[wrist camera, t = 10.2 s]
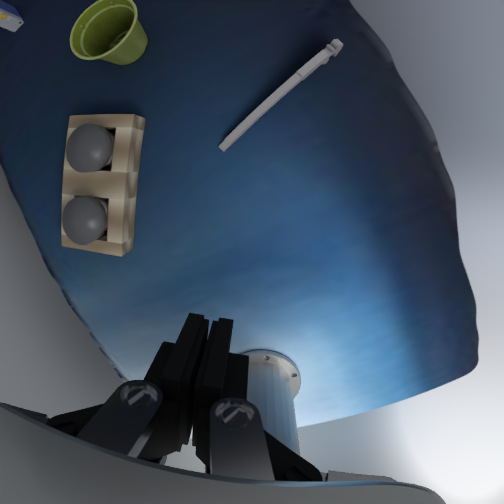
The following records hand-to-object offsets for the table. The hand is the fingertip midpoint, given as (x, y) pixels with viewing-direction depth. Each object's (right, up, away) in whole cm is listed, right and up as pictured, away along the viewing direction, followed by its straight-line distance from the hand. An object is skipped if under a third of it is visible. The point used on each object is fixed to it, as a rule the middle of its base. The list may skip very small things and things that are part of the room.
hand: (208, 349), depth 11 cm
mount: (-19, +14, +27) cm, 35 cm away
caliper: (+5, +23, +24) cm, 34 cm away
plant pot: (-16, +33, +22) cm, 42 cm away
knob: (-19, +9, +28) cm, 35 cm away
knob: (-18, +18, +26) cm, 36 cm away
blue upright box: (-44, +48, +18) cm, 68 cm away
